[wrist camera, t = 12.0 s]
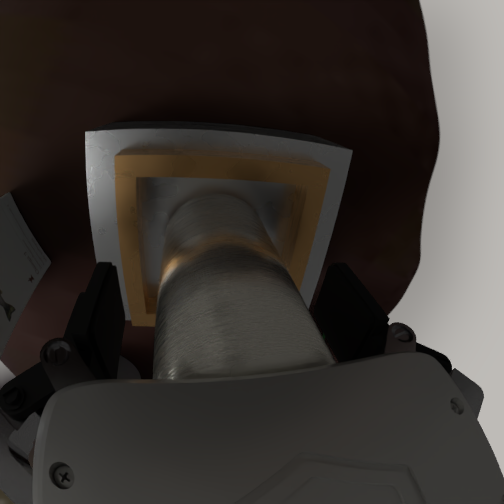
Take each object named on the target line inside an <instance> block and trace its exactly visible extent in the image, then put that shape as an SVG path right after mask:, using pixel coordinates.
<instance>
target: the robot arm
mask: <svg viewBox="0 0 504 504" xmlns="http://www.w3.org/2000/svg"><path fill="white" fill-rule="evenodd" d="M314 316H315V318H316V320H317V322H318V324H319V325H320V327H321V329H322V331H323V333H324V335H325V337H326V339H327V341H328V343H329V345H330V347H331V348H332V350H333V352H334V354H335V356H336V358H337V360H338V362H339V363H336V364H330V365H325V366H319V367H312V368H306V369H299V370H292V371H285V372H277V373H268V374H259V375H249V376H237V377H222V378H204V379H117V373H118V365H119V358H120V351H121V344H122V338H123V332H124V326H125V311H124V306H123V301H122V296H121V290H120V285H119V279H118V273H117V267H116V265H112V262H98V263H97V265H96V268H95V270H94V272H93V275H92V277H91V280H90V282H89V284H88V287H87V289H86V292H81V293H80V294H79V296H78V299H77V301H76V304H75V306H74V309H73V312H72V314H71V317H70V320H69V322H68V325H67V328H66V331H65V334H64V337H63V338H54V339H52V340H49V341H48V342H47V343H45V345H44V346H43V347H42V349H41V351H40V360H41V362H39V363H37V364H36V365H34V366H33V367H31V368H30V369H28V370H26V371H25V372H23V373H22V374H20V375H18V376H17V377H15V378H14V379H12V380H11V381H9V382H8V383H6V384H5V385H4V386H3V387H2V389H1V390H0V489H1V490H2V491H3V492H4V493H5V494H6V495H7V496H8V497H9V498H10V500H12V501H13V503H15V504H504V477H503V475H502V472H501V470H500V468H499V464H498V462H497V460H496V457H495V455H494V452H493V450H492V448H491V446H490V444H489V442H488V440H487V438H486V436H485V434H484V432H483V430H482V428H481V426H480V424H479V422H478V420H477V418H478V415H479V412H480V408H481V405H482V402H483V398H484V394H483V391H482V389H481V388H480V387H479V386H478V385H477V384H476V383H474V382H473V381H472V380H470V379H469V378H468V377H466V376H465V375H464V374H462V373H461V372H460V371H458V370H457V369H455V368H454V369H453V370H452V365H451V362H450V360H449V359H448V358H447V357H446V356H445V355H443V354H442V353H439V352H437V351H435V350H432V349H430V348H428V347H426V346H423V345H421V344H419V343H417V342H416V335H415V333H414V331H413V330H412V329H411V328H410V327H408V326H407V325H405V324H403V323H399V322H397V323H392V324H391V325H390V326H389V325H388V321H389V318H388V316H387V315H386V314H385V312H384V311H383V310H382V308H381V307H380V306H379V304H378V303H377V302H376V300H375V299H374V298H373V297H372V295H371V294H370V293H369V291H368V290H367V289H366V288H365V286H364V285H363V284H362V283H361V281H360V280H359V279H358V278H357V276H356V275H355V274H354V273H353V271H352V270H351V269H350V268H349V267H348V265H347V264H346V263H333V264H332V265H331V266H329V267H328V270H327V273H326V276H325V279H324V282H323V285H322V288H321V291H320V294H319V297H318V300H317V303H316V305H315V308H314ZM35 439H36V443H35V451H34V460H33V469H32V468H31V466H30V464H29V461H28V455H29V452H30V450H31V449H32V447H33V446H34V445H33V444H32V443H33V441H34V440H35ZM69 467H70V468H69ZM66 472H67V473H66Z"/></svg>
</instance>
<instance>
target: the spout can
mask: <svg viewBox="0 0 504 504" xmlns="http://www.w3.org/2000/svg"><path fill="white" fill-rule="evenodd" d="M330 364H336V362H335V360H334V358H333V356H332V354H331V352H330V350H329V348H328V346H327V345H326V343H325V341H324V339H323V337H322V335H321V333H320V331H319V329H318V327H317V325H316V323H315V321H314V319H313V317H312V315H311V313H310V312H309V310H308V308H307V306H306V304H305V302H304V300H303V298H302V296H301V294H300V292H299V291H298V289H297V287H296V285H295V283H294V281H293V279H292V277H291V275H290V274H289V272H288V270H287V268H286V266H285V264H284V262H283V260H282V259H281V257H280V255H279V253H278V251H277V249H276V248H275V246H274V244H273V242H272V240H271V238H270V236H269V235H268V233H267V231H266V229H265V227H264V225H263V224H262V222H261V220H260V218H259V216H258V215H257V213H256V212H255V211H254V209H253V208H252V207H251V206H250V205H248V204H247V203H246V202H244V201H242V200H241V199H239V198H236V197H234V196H230V195H226V194H207V195H203V196H199V197H196V198H194V199H192V200H190V201H188V202H186V203H185V204H184V205H182V206H181V207H180V208H179V209H178V210H177V211H176V212H175V213H174V215H173V216H172V217H171V219H170V221H169V223H168V225H167V228H166V232H165V238H164V245H163V253H162V261H161V269H160V278H159V287H158V298H157V309H156V322H155V337H154V358H153V379H204V378H222V377H237V376H249V375H259V374H268V373H277V372H285V371H292V370H299V369H306V368H312V367H319V366H325V365H330Z"/></svg>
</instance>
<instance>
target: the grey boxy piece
mask: <svg viewBox="0 0 504 504" xmlns="http://www.w3.org/2000/svg"><path fill="white" fill-rule="evenodd" d="M85 144H86V176H87V191H88V203H89V213H90V221H91V229H92V236H93V243H94V249H95V255H96V261H97V263H98V262H112V265H116V267H117V273H118V279H119V285H120V290H121V296H122V301H123V306H124V311H125V320H131V321H132V325H133V326H155V322H156V309H157V298H158V287H159V278H160V269H161V261H162V253H163V245H164V238H165V232H166V228H167V225H168V223H169V221H170V219H171V217H172V216H173V215H174V213H175V212H176V211H177V210H178V209H179V208H180V207H181V206H182V205H184V204H185V203H186V202H188V201H190V200H192V199H194V198H196V197H199V196H203V195H207V194H226V195H230V196H234V197H236V198H239V199H241V200H242V201H244V202H246V203H247V204H248V205H250V206H251V207H252V208H253V209H254V211H255V212H256V213H257V215H258V216H259V218H260V220H261V222H262V224H263V225H264V227H265V229H266V231H267V233H268V235H269V236H270V238H271V240H272V242H273V244H274V246H275V248H276V249H277V251H278V253H279V255H280V257H281V259H282V260H283V262H284V264H285V266H286V268H287V270H288V272H289V274H290V275H291V277H292V279H293V281H294V283H295V285H296V287H297V289H298V291H299V292H300V294H301V296H302V298H303V300H304V302H305V304H306V306H307V308H308V309H309V306H310V303H311V300H312V297H313V294H314V291H315V288H316V285H317V282H318V279H319V275H320V272H321V269H322V266H323V263H324V259H325V256H326V253H327V249H328V246H329V242H330V239H331V235H332V232H333V228H334V225H335V221H336V217H337V214H338V210H339V206H340V202H341V198H342V194H343V190H344V186H345V182H346V178H347V174H348V169H349V165H350V161H351V156H352V152H353V150H351V149H348V148H346V147H344V146H341V145H339V144H336V143H334V142H331V141H328V140H326V139H323V138H320V137H318V136H313V135H308V134H302V133H296V132H290V131H283V130H276V129H269V128H261V127H253V126H243V125H233V124H221V123H206V122H183V121H134V122H112V123H109V124H106V125H103V126H100V127H97V128H95V129H92V130H89V131H86V135H85Z"/></svg>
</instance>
